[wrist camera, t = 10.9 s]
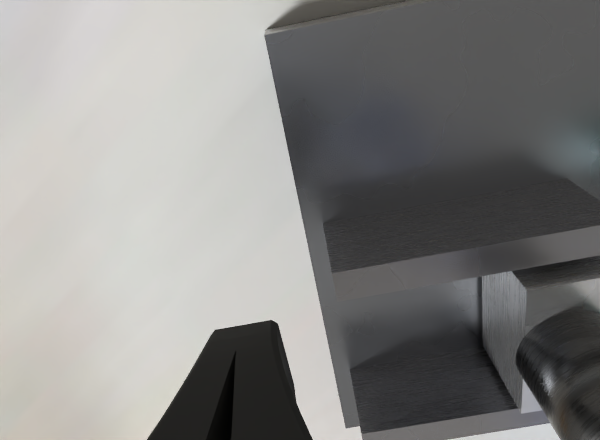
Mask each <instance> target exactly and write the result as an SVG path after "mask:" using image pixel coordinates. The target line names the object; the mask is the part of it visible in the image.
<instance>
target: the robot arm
mask: <svg viewBox="0 0 600 440" xmlns="http://www.w3.org/2000/svg"><path fill="white" fill-rule="evenodd" d="M147 440H313V439H312V437H311V435H310V433H309V431H308V429H307V426H306V424H305V422H304V420H303V417H302V415H301V413H300V411H299V408H298V406H297V403H296V397H295V389H294V383H293V379H292V376H291V372H290V368H289V364H288V360H287V357H286V353H285V349H284V345H283V342H282V338H281V334H280V330H279V326H278V324H277V323H276V322H274V321H272V320H269V321H264V322H258V323H252V324H247V325H241V326H235V327H230V328H224V329H218V330H215V331H214V332H213V333H212V335H211V336H210V338H209V340H208V341H207V343H206V345H205V347H204V349H203V350H202V352H201V354H200V356H199V357H198V359H197V361H196V363H195V364H194V366H193V368H192V369H191V371H190V373H189V375H188V376H187V378H186V380H185V381H184V383H183V385H182V386H181V388H180V390H179V391H178V393H177V394H176V396H175V398H174V399H173V401H172V402H171V404H170V406H169V407H168V409H167V410H166V412H165V414H164V415H163V417H162V418H161V420H160V421H159V423H158V424H157V426H156V427H155V429H154V430H153V432H152V433H151V434H150V436H149V437H148V439H147Z"/></svg>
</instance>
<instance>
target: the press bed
mask: <svg viewBox="0 0 600 440" xmlns="http://www.w3.org/2000/svg"><path fill="white" fill-rule="evenodd" d="M265 40H266V45H267V50H268V54H269V59H270V64H271V69H272V74H273V79H274V83H275V88H276V93H277V98H278V103H279V108H280V112H281V117H282V122H283V127H284V132H285V137H286V141H287V146H288V151H289V156H290V161H291V166H292V170H293V175H294V180H295V185H296V190H297V195H298V199H299V204H300V209H301V214H302V219H303V224H304V228H305V233H306V238H307V243H308V248H309V252H310V257H311V262H312V267H313V272H314V277H315V281H316V286H317V291H318V296H319V301H320V306H321V310H322V315H323V320H324V325H325V330H326V335H327V339H328V344H329V349H330V354H331V359H332V364H333V368H334V373H335V378H336V383H337V388H338V393H339V397H340V402H341V407H342V412H343V417H344V422H345V426H346V428H351V427H357V426H360V428H361V433H362V439H363V440H447V439H454V438H460V437H466V436H472V435H478V434H485V433H491V432H497V431H503V430H509V429H515V428H522V427H528V426H534V425H540V424H546V423H550V422H549V420H548V418H547V417H546V415H545V413H544V412H543V410H541V411H535V412H529V413H523V414H521V412H520V411H519V409H518V407H517V405H516V404H515V402H514V400H513V398H512V396H511V395H510V393H509V391H508V389H507V388H506V386H505V384H504V382H503V380H502V379H501V377H500V375H499V373H498V371H497V370H496V368H495V366H494V364H493V363H492V361H491V359H490V357H489V355H488V354H487V352H486V350H485V348H484V347H483V345H482V276H486V275H492V274H498V273H503V272H509V271H515V270H520V269H526V268H531V267H537V266H543V265H548V264H554V263H560V262H565V261H571V260H577V259H582V258H588V257H594V256H599V255H600V0H408V1H404V2H399V3H394V4H389V5H384V6H379V7H374V8H369V9H365V10H360V11H355V12H350V13H345V14H340V15H335V16H330V17H326V18H321V19H316V20H311V21H306V22H301V23H296V24H291V25H287V26H282V27H277V28H272V29H267V30H266V31H265Z"/></svg>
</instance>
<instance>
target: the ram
mask: <svg viewBox="0 0 600 440" xmlns="http://www.w3.org/2000/svg"><path fill="white" fill-rule="evenodd" d="M482 345H483V347H484V348H485V350H486V352H487V354H488V355H489V357H490V359H491V361H492V363H493V364H494V366H495V368H496V370H497V371H498V373H499V375H500V377H501V379H502V380H503V382H504V384H505V386H506V388H507V389H508V391H509V393H510V395H511V396H512V398H513V400H514V402H515V404H516V405H517V407H518V409H519V411H520V412H521V414H523V413H529V412H535V411H541V410H543V412H544V413H545V415H546V417H547V418H548V420H549V422H550V423H551V425H552V426H553V428H554V430H555V431H556V433H557V435H558V436H559V438H560V439H561V440H600V255H599V256H594V257H588V258H582V259H577V260H571V261H565V262H560V263H554V264H548V265H543V266H537V267H531V268H526V269H520V270H515V271H509V272H503V273H498V274H492V275H486V276H482Z"/></svg>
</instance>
